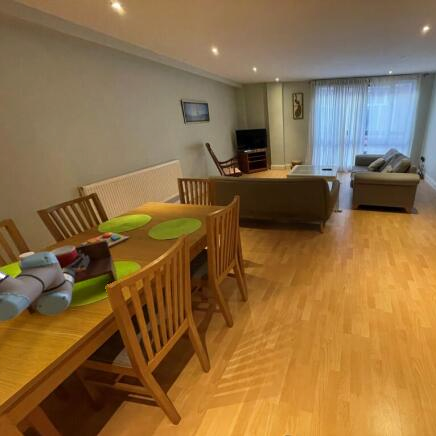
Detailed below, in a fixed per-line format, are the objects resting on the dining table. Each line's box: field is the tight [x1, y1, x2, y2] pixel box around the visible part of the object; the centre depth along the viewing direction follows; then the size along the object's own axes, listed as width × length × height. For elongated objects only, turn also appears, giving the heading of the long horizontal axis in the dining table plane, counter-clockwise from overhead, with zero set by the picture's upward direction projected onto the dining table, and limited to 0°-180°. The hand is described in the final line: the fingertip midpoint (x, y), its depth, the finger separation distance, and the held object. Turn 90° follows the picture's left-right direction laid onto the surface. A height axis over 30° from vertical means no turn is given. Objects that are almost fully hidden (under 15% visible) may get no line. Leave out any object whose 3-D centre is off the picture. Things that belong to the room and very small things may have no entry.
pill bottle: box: [17, 251, 35, 273], centre depth 110 cm, size 8×7×14 cm
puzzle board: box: [80, 231, 130, 248], centre depth 146 cm, size 18×19×4 cm
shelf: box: [20, 240, 118, 315], centre depth 102 cm, size 28×16×17 cm, turn 126°
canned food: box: [50, 245, 81, 274], centre depth 100 cm, size 8×8×11 cm
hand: (67, 255), depth 103 cm, fingers closed on canned food, 8 cm apart
